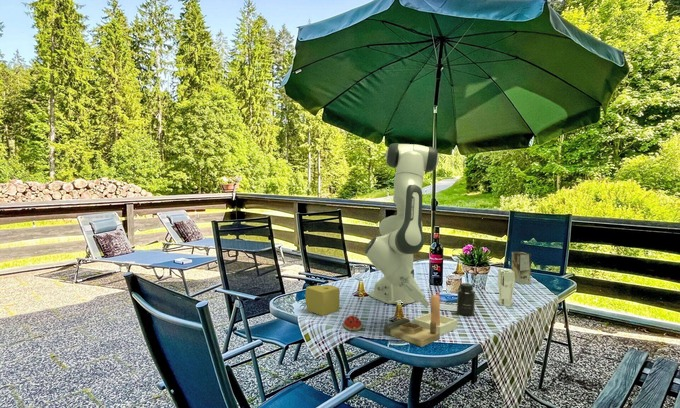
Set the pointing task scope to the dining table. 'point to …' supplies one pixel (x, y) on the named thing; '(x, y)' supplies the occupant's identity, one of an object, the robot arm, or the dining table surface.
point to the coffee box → (521, 267)
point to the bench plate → (411, 332)
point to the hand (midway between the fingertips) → (425, 301)
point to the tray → (445, 325)
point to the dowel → (435, 309)
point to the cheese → (322, 299)
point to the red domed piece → (352, 323)
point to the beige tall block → (506, 286)
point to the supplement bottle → (466, 300)
